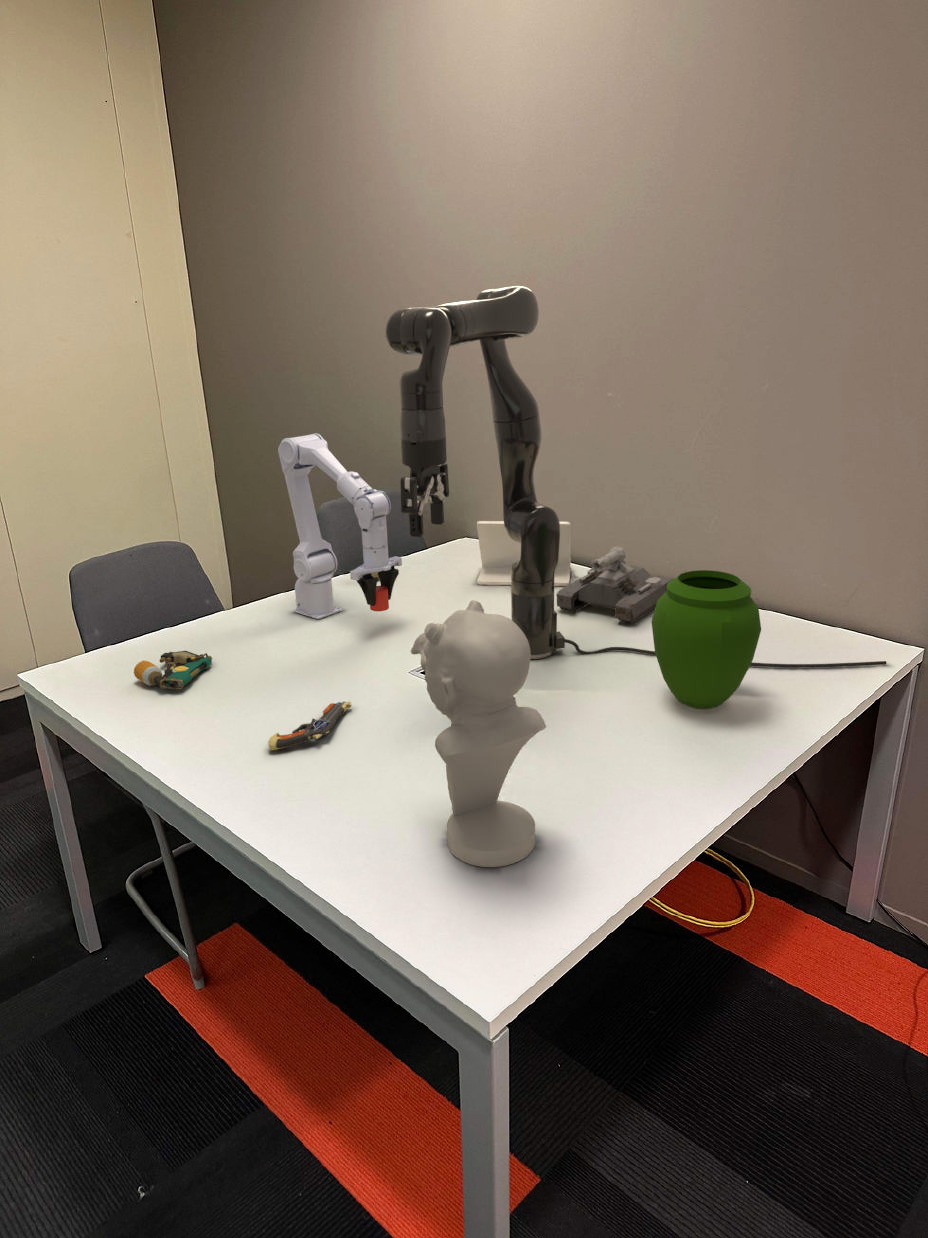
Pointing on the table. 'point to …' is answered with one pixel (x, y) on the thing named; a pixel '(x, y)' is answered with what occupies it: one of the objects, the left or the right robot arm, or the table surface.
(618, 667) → the table surface
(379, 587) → the canister
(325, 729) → the toy gun
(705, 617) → the vase
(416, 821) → the table surface
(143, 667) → the spray gun
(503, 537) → the tablet stand
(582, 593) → the toy
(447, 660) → the bust sculpture
